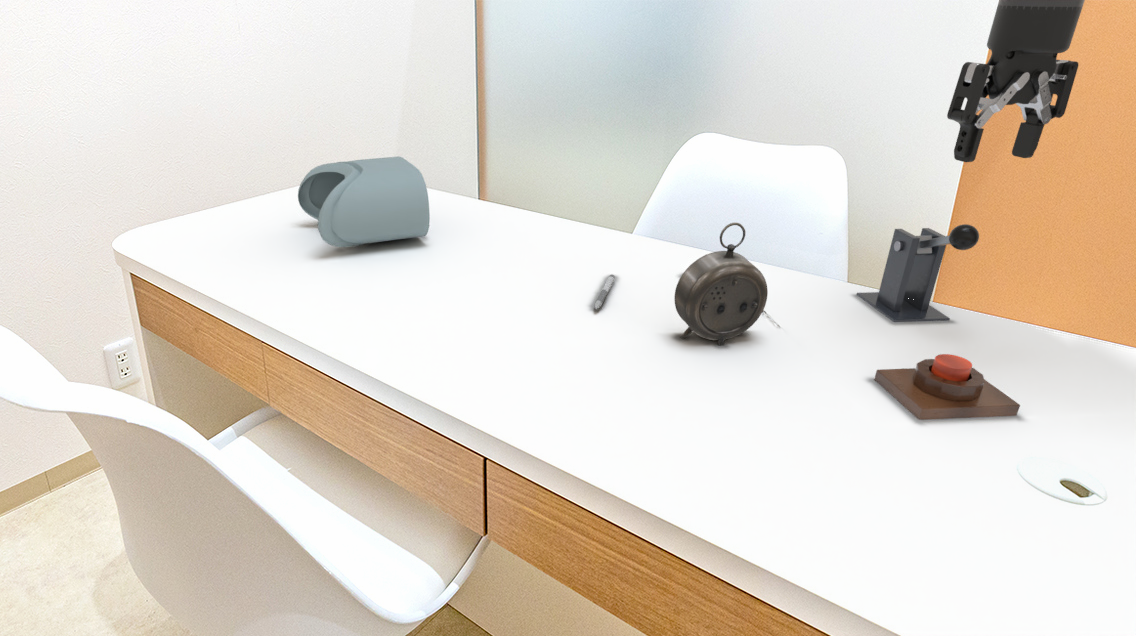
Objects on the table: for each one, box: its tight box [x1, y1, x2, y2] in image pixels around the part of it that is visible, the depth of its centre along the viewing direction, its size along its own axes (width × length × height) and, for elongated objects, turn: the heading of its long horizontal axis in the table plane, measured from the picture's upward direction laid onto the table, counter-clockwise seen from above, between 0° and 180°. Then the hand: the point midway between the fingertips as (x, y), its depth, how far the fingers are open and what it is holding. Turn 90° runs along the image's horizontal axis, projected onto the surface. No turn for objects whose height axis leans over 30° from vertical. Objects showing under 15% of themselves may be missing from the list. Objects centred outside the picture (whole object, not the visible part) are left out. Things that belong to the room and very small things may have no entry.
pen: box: [594, 274, 615, 310], centre depth 112 cm, size 1×14×1 cm, turn 162°
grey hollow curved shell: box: [297, 156, 431, 248], centre depth 134 cm, size 22×19×13 cm
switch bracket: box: [856, 227, 951, 323], centre depth 105 cm, size 10×8×12 cm
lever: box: [915, 223, 980, 255], centre depth 98 cm, size 12×3×3 cm, turn 5°
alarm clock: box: [674, 222, 768, 347], centre depth 94 cm, size 11×5×16 cm, turn 100°
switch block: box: [873, 358, 1021, 421], centre depth 83 cm, size 11×9×4 cm
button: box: [931, 353, 973, 382], centre depth 82 cm, size 4×4×2 cm
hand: (992, 158), depth 86 cm, fingers open, 8 cm apart
